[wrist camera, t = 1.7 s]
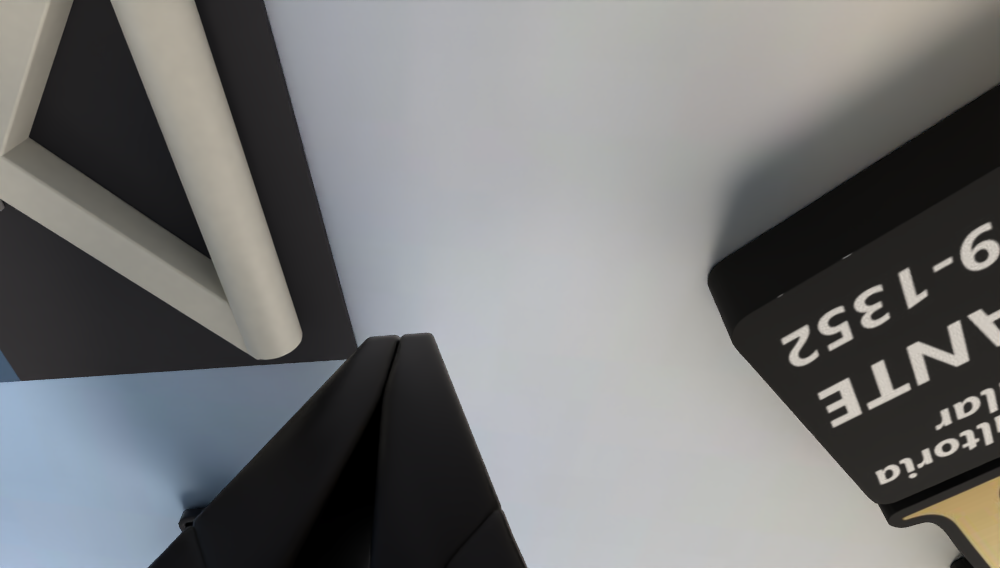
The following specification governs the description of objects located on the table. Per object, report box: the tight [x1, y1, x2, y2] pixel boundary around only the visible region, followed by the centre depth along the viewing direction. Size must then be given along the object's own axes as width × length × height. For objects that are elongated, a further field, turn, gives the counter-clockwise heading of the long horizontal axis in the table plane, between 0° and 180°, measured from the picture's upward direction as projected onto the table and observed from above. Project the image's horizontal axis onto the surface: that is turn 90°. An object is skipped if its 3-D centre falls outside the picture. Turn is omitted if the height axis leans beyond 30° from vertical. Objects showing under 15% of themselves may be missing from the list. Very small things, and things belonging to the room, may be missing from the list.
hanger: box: [0, 0, 302, 360], centre depth 17 cm, size 14×9×2 cm, turn 5°
